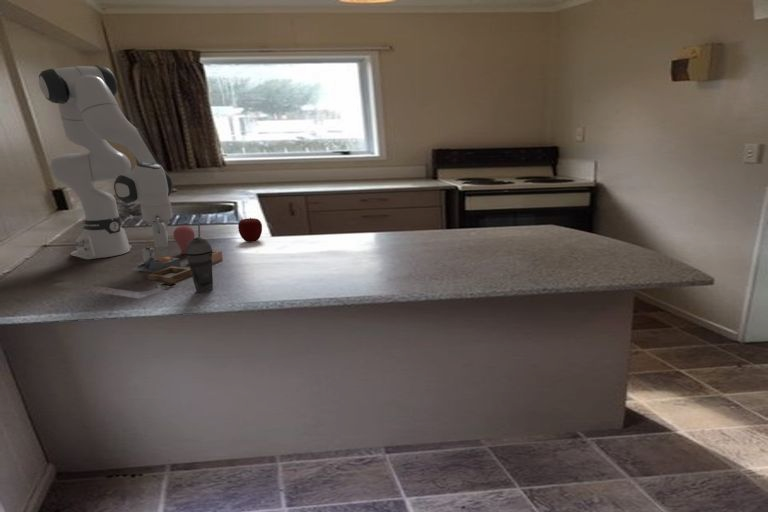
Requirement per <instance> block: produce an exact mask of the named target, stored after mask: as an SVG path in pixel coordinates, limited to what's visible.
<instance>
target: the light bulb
mask: <svg viewBox="0 0 768 512" xmlns="http://www.w3.org/2000/svg"><path fill="white" fill-rule="evenodd" d="M194 238H195V232H194V229H192V227H190V226H188V225H179V226H177V227H176V228H174V230H173V239H174V241H175V243H176V244H177V245H178V246H179V249H180V253H181V254H182V255H186V254H185V253H186V251H185V250H186V246H187V244H188V242H189V241H190V240H192V239H194Z"/></svg>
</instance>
